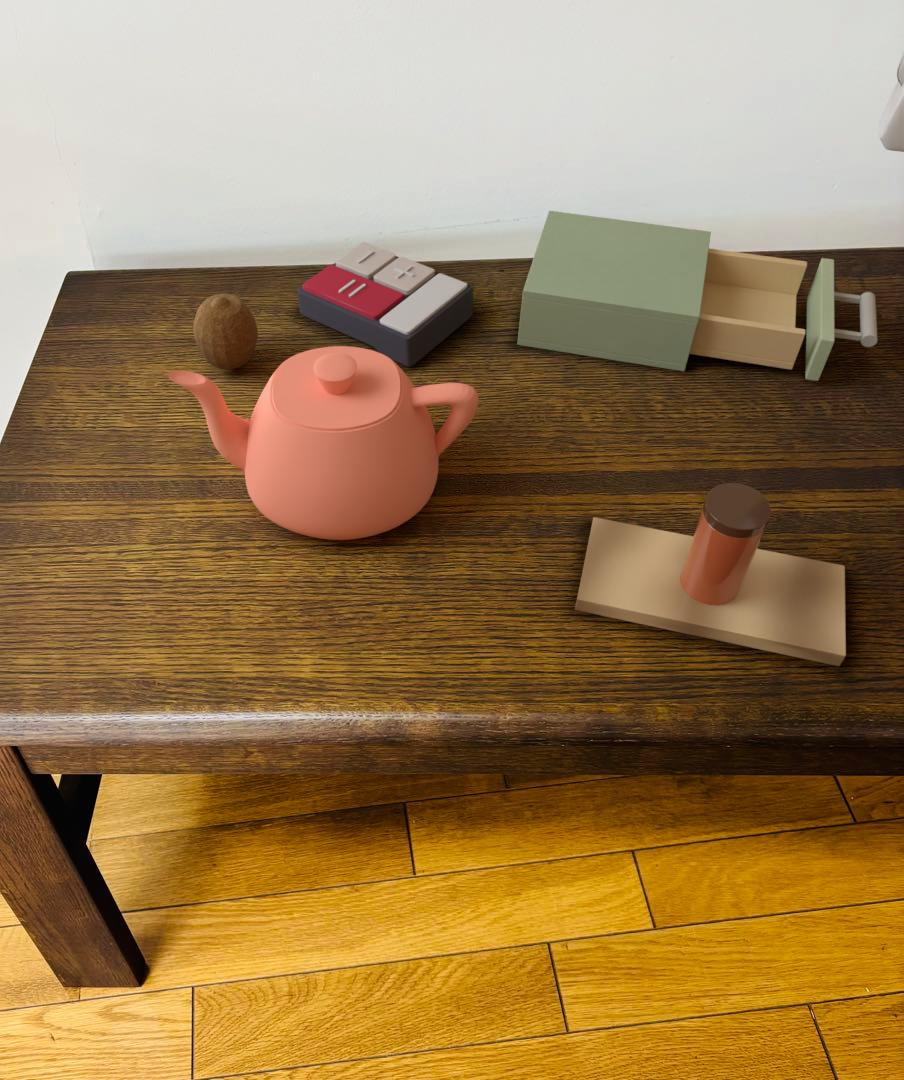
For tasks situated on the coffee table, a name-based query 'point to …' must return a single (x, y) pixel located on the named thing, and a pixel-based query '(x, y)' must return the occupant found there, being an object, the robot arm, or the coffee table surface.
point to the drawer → (772, 312)
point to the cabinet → (615, 290)
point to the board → (748, 620)
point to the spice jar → (724, 543)
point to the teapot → (337, 441)
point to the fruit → (225, 331)
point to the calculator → (387, 302)
